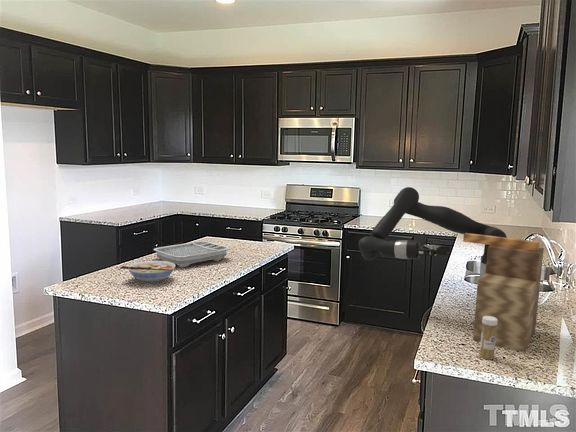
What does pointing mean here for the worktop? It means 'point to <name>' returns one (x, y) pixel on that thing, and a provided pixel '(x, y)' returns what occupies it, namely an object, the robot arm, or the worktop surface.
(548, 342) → the worktop surface
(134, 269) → the ramen bowl
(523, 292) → the box
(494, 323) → the sprinkles bottle
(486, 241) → the dowel
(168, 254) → the dish rack
